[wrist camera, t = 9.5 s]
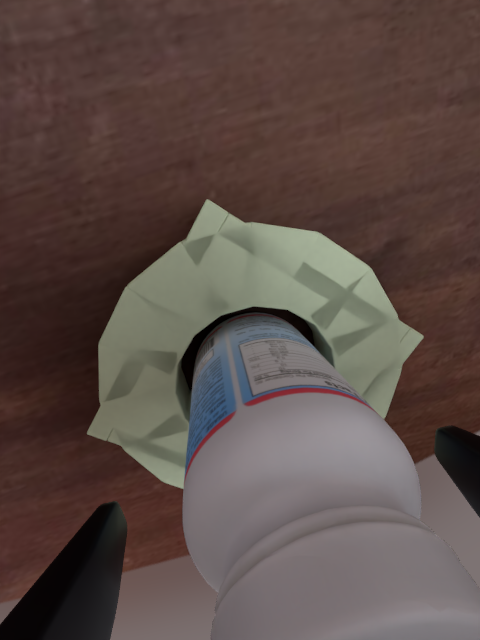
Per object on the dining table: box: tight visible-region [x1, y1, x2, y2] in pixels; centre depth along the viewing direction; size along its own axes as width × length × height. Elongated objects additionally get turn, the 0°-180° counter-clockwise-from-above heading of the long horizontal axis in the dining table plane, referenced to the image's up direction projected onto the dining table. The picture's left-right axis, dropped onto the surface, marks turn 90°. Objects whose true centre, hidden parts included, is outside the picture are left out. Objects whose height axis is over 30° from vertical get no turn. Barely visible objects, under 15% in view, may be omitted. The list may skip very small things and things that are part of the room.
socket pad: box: [87, 199, 424, 489], centre depth 13 cm, size 13×13×2 cm
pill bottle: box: [183, 312, 480, 640], centre depth 9 cm, size 6×6×11 cm
